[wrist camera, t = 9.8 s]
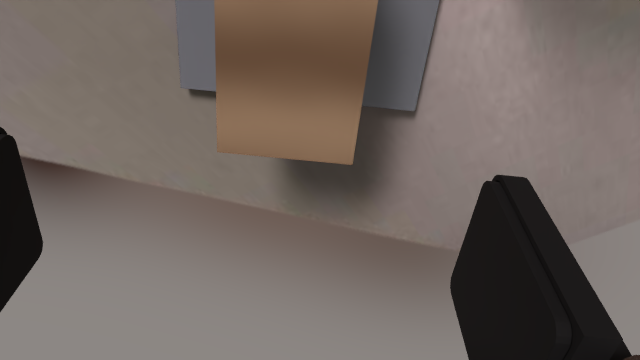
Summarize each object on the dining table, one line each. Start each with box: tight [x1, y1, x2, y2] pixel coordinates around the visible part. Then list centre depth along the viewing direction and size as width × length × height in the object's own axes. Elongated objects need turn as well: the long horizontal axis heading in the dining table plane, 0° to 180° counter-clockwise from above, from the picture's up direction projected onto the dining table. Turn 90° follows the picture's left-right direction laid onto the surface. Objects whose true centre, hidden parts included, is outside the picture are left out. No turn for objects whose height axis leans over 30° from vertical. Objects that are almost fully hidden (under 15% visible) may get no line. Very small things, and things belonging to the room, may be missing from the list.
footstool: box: [214, 0, 378, 165], centre depth 23 cm, size 10×6×8 cm, turn 174°
